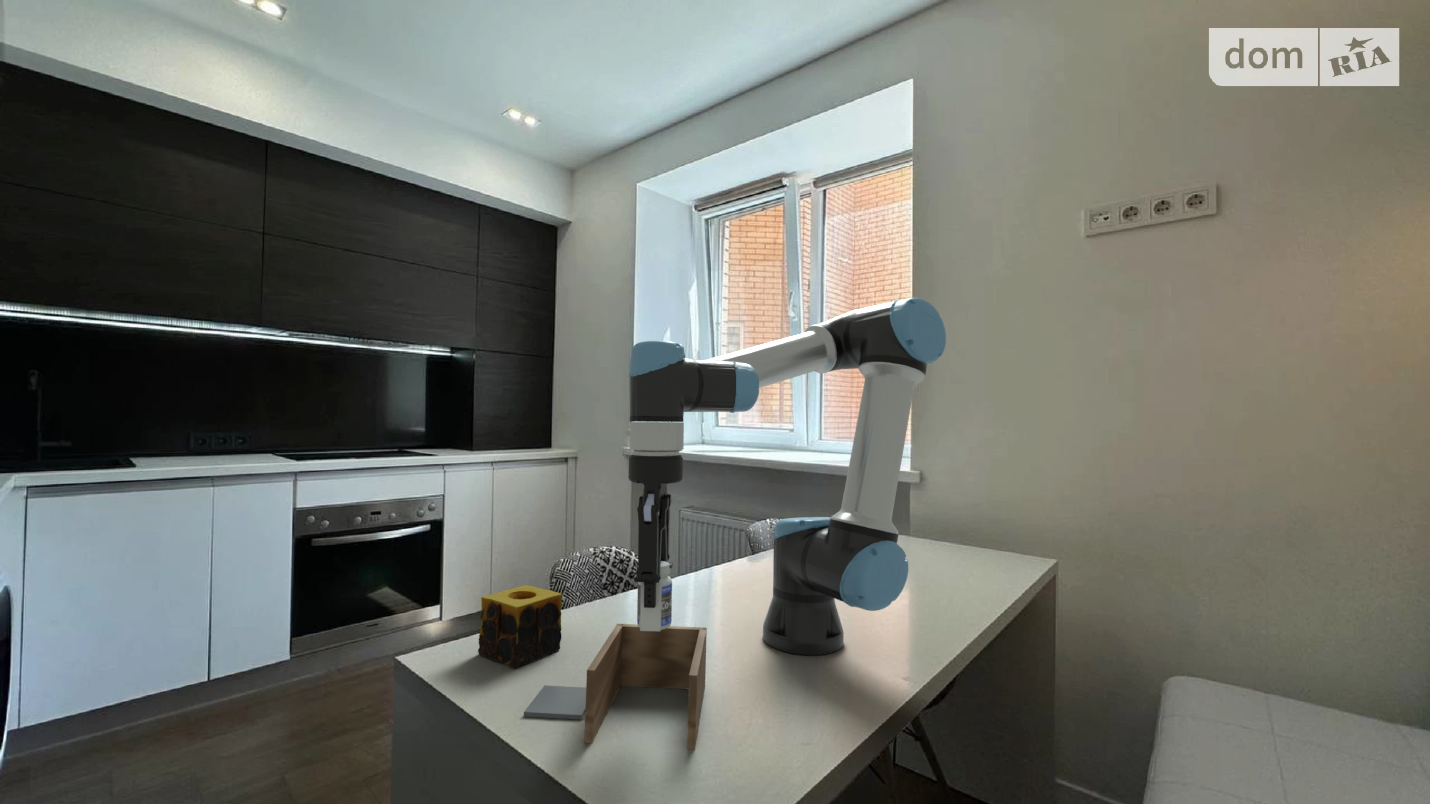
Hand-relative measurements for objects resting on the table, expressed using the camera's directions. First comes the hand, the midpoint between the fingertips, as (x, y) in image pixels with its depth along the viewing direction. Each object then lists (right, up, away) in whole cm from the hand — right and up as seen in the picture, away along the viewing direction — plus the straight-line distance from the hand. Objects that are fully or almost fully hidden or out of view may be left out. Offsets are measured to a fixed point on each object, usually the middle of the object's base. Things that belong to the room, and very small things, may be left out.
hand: (653, 622), depth 79 cm
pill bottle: (0, -1, 0) cm, 1 cm away
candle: (-26, -14, +21) cm, 35 cm away
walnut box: (-1, -13, +1) cm, 13 cm away
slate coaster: (-13, -13, +3) cm, 19 cm away
